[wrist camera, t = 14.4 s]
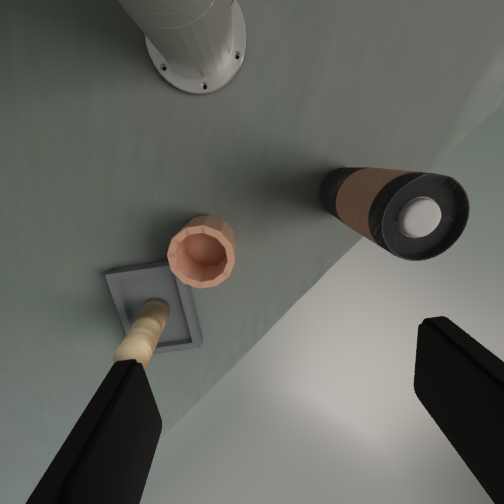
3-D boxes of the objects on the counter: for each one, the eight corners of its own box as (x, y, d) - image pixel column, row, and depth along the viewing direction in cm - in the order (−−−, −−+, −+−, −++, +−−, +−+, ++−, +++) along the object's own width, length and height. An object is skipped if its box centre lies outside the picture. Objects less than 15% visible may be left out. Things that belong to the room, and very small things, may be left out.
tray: (111, 268, 44) (104, 274, 42) (183, 258, 44) (179, 263, 42) (139, 347, 50) (133, 356, 47) (202, 338, 49) (200, 347, 47)
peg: (141, 300, 45) (108, 348, 34) (167, 295, 45) (142, 343, 34) (148, 321, 46) (120, 375, 35) (173, 317, 46) (152, 370, 35)
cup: (173, 219, 42) (160, 231, 35) (230, 211, 42) (228, 221, 35) (186, 272, 45) (176, 291, 38) (239, 264, 45) (238, 282, 38)
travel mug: (335, 225, 43) (406, 279, 24) (307, 188, 41) (362, 214, 22) (376, 195, 41) (486, 225, 23) (349, 154, 39) (447, 151, 20)
